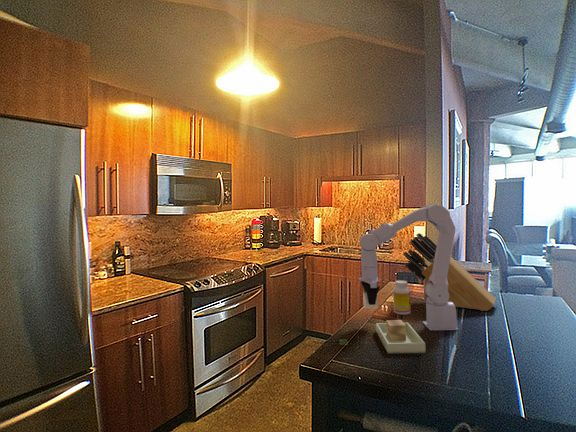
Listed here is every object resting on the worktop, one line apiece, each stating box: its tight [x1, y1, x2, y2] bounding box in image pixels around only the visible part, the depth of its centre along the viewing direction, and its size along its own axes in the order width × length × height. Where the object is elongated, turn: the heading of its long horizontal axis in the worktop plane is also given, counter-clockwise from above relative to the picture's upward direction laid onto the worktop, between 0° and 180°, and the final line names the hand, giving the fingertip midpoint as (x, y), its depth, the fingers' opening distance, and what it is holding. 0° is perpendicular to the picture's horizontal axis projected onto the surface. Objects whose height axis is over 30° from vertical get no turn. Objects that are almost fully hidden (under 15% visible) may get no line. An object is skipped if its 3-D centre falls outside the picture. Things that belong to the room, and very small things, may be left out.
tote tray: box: [375, 322, 427, 355], centre depth 109 cm, size 11×17×3 cm, turn 177°
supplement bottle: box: [392, 279, 412, 316], centre depth 136 cm, size 7×7×13 cm
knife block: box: [402, 233, 497, 312], centre depth 145 cm, size 11×35×31 cm, turn 54°
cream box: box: [362, 291, 379, 310], centre depth 124 cm, size 4×4×5 cm
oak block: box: [385, 319, 406, 341], centre depth 110 cm, size 5×5×5 cm
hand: (370, 302), depth 124 cm, fingers closed on cream box, 4 cm apart
